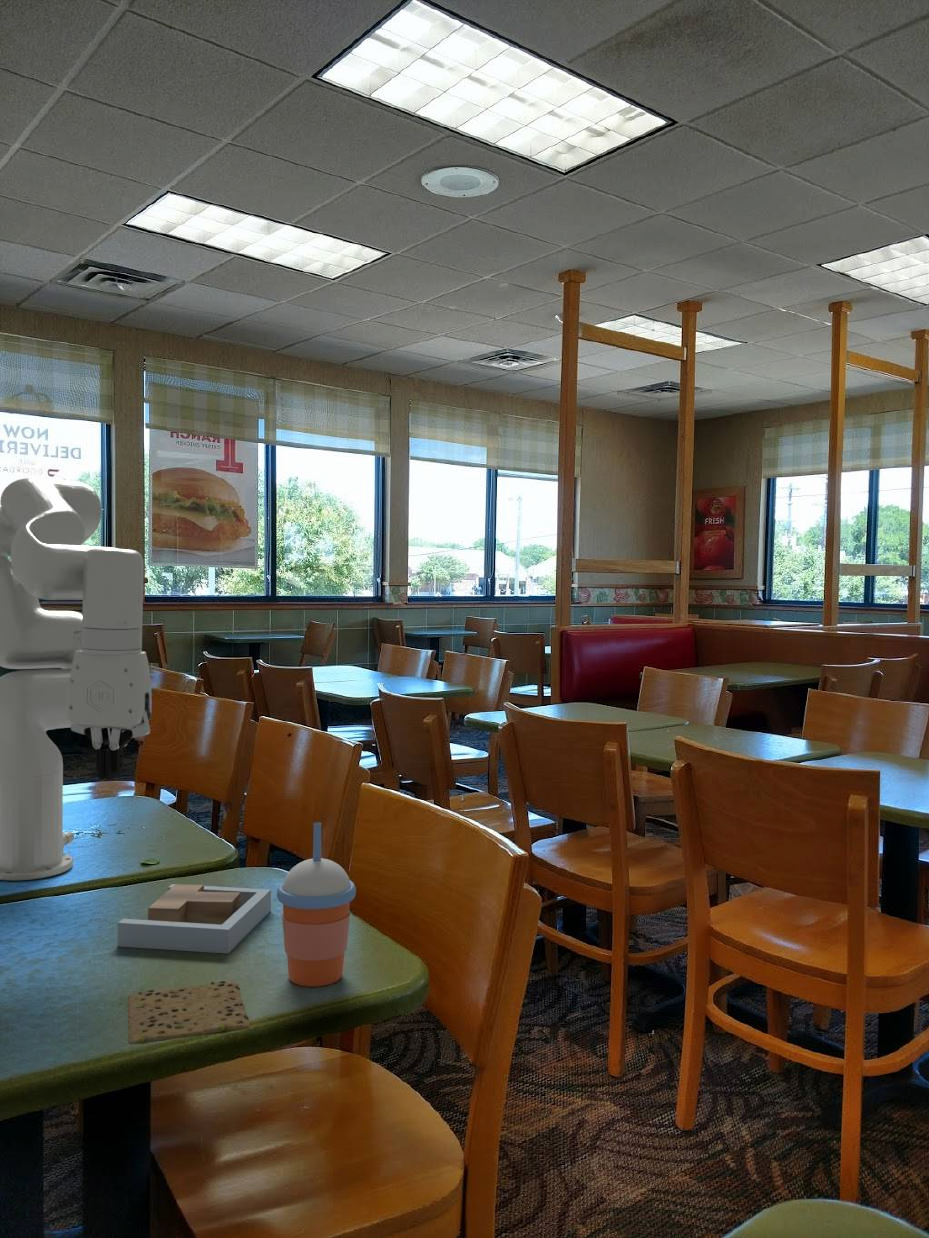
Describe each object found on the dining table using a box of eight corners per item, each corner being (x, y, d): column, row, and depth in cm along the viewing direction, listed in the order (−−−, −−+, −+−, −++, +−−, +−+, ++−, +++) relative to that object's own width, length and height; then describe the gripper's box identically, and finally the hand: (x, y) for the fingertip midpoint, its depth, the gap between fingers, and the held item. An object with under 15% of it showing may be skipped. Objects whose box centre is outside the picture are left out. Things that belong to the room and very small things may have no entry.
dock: (172, 904, 136) (172, 883, 136) (270, 910, 134) (271, 889, 134) (117, 946, 120) (117, 922, 120) (228, 953, 118) (228, 929, 118)
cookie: (125, 999, 105) (125, 990, 105) (237, 985, 110) (237, 977, 110) (126, 1049, 94) (126, 1039, 94) (251, 1032, 98) (251, 1022, 98)
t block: (175, 912, 133) (175, 884, 133) (246, 914, 132) (246, 885, 132) (148, 938, 123) (148, 908, 123) (225, 940, 122) (224, 909, 122)
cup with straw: (349, 994, 107) (350, 834, 106) (268, 991, 107) (269, 832, 106) (359, 962, 116) (361, 815, 115) (284, 960, 116) (286, 813, 116)
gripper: (43, 640, 124) (41, 779, 126) (152, 646, 123) (149, 787, 124) (74, 636, 132) (72, 767, 133) (177, 641, 130) (174, 775, 131)
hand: (109, 776), depth 128 cm, fingers closed
